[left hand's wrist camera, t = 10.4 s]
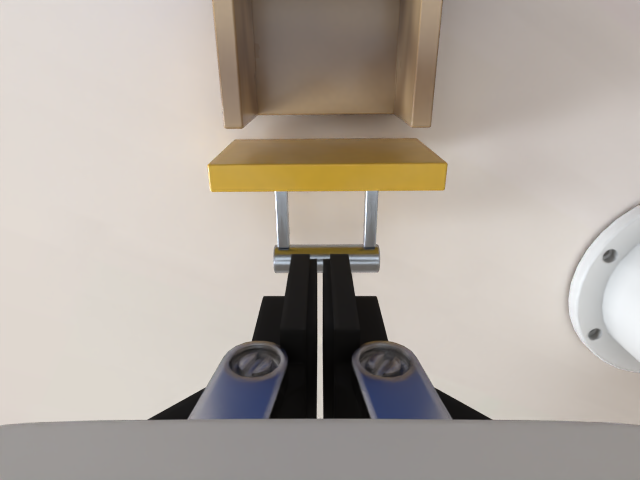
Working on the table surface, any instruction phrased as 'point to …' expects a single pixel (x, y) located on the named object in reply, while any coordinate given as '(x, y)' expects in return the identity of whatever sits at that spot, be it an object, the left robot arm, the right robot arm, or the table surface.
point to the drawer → (327, 104)
